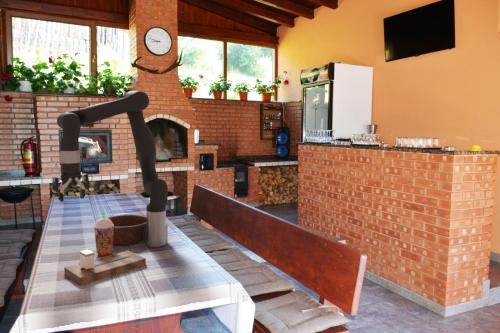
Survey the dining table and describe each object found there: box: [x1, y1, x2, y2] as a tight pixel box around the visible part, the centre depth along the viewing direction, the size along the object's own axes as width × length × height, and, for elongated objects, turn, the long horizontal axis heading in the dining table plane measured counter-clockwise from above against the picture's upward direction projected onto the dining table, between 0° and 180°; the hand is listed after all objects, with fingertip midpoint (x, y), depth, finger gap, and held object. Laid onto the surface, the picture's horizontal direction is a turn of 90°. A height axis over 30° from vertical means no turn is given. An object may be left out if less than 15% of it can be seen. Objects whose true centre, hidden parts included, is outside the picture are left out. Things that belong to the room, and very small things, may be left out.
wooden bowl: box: [106, 214, 147, 247], centre depth 198 cm, size 25×25×10 cm
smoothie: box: [93, 211, 114, 258], centre depth 176 cm, size 8×8×20 cm
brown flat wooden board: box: [64, 250, 147, 286], centre depth 159 cm, size 28×14×3 cm, turn 138°
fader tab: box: [79, 249, 95, 269], centre depth 153 cm, size 3×5×6 cm, turn 48°
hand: (72, 199), depth 163 cm, fingers open, 8 cm apart
